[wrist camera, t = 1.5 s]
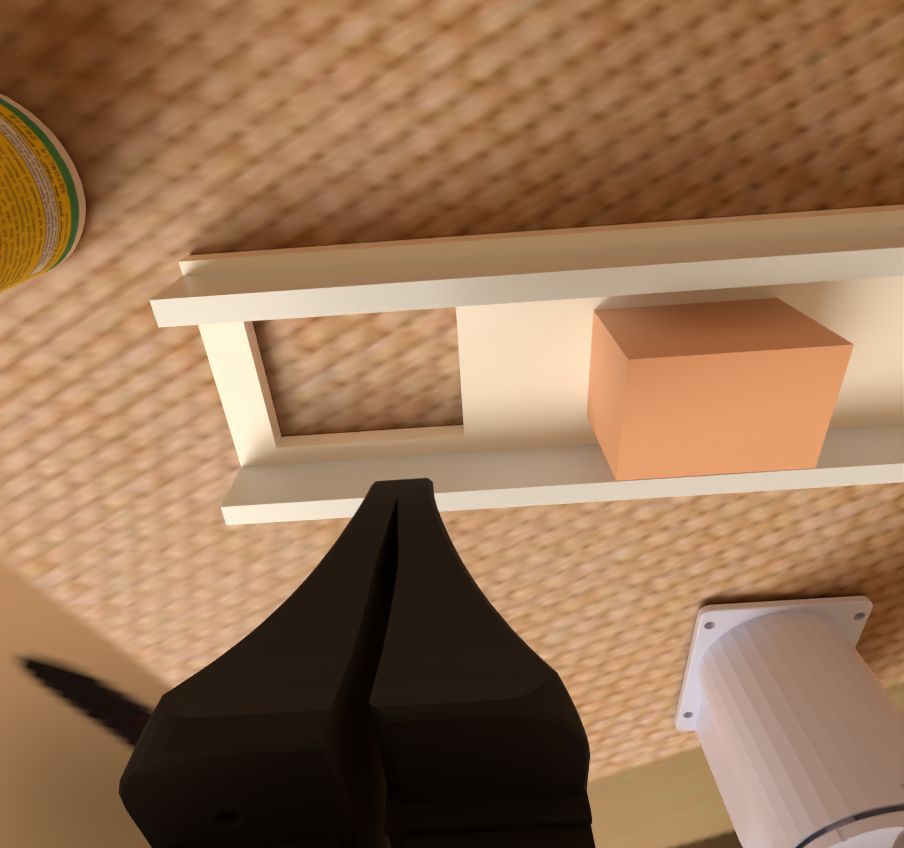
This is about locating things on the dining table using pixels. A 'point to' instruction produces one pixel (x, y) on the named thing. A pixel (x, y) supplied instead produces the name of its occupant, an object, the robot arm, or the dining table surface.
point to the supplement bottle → (35, 198)
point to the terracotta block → (712, 387)
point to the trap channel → (544, 352)
